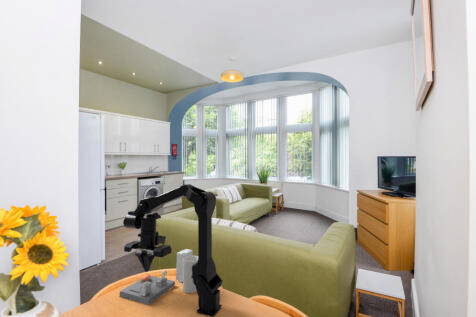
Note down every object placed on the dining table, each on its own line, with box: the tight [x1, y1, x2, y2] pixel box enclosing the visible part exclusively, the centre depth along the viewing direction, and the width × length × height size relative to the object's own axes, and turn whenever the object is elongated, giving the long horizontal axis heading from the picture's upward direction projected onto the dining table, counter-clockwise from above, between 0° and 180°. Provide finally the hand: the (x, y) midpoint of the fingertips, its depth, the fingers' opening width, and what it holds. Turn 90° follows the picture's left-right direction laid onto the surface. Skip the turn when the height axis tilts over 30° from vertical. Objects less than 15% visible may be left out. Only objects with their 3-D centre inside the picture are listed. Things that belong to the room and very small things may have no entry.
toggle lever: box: [159, 269, 168, 284], centre depth 87 cm, size 2×2×6 cm
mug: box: [182, 255, 198, 294], centre depth 90 cm, size 10×7×12 cm, turn 175°
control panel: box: [119, 275, 176, 306], centre depth 86 cm, size 14×14×4 cm
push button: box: [141, 274, 151, 282], centre depth 90 cm, size 3×3×2 cm
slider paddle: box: [140, 281, 152, 296], centre depth 80 cm, size 2×3×4 cm
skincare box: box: [175, 248, 194, 283], centre depth 97 cm, size 6×4×12 cm
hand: (146, 271), depth 85 cm, fingers closed
